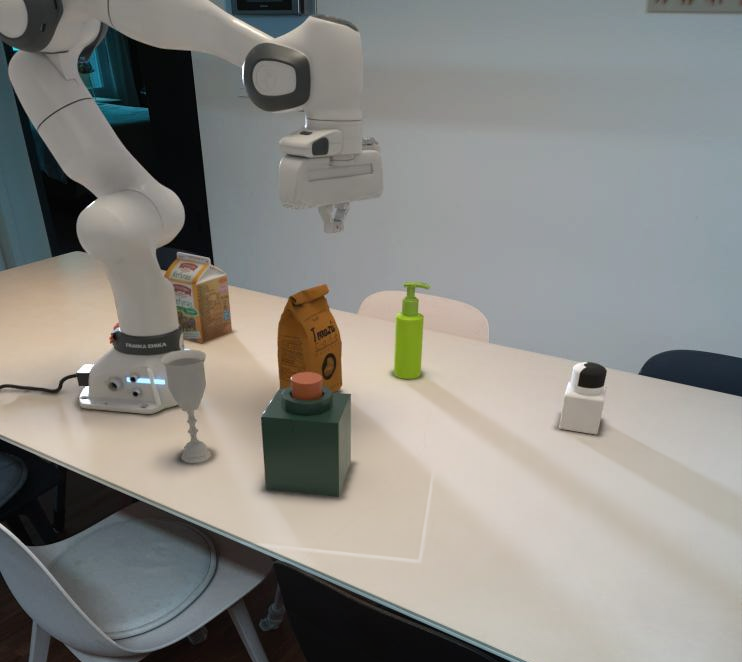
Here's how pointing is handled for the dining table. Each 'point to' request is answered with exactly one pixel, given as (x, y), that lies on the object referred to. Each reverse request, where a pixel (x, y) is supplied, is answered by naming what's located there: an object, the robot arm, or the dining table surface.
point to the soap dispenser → (409, 335)
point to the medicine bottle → (584, 398)
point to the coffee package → (309, 339)
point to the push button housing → (307, 442)
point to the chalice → (188, 394)
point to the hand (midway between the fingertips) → (333, 232)
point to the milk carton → (200, 297)
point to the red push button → (306, 386)
